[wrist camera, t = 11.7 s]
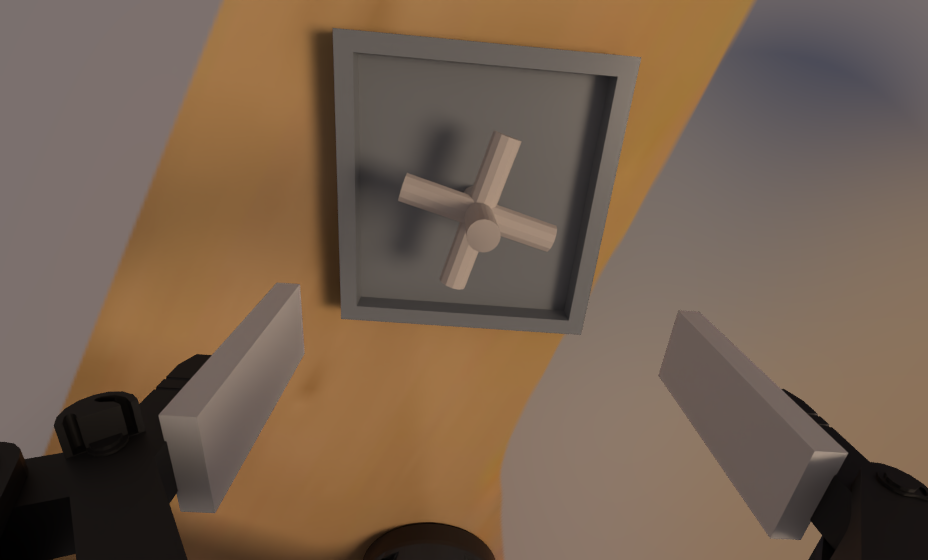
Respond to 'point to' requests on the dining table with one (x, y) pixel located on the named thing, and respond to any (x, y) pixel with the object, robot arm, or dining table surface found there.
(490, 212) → the pipe connector
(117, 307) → the dining table surface
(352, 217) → the tray
